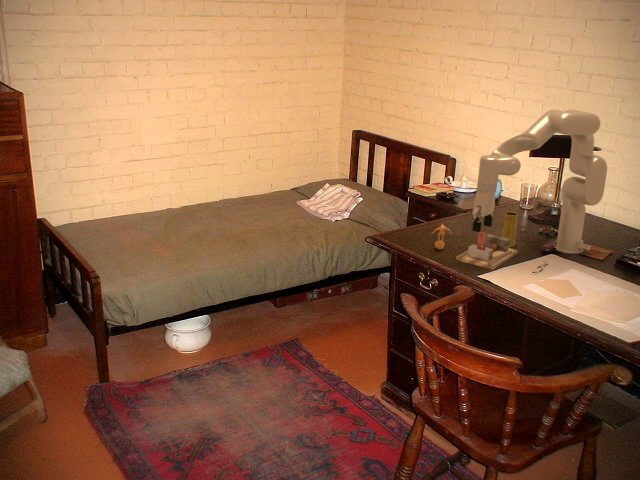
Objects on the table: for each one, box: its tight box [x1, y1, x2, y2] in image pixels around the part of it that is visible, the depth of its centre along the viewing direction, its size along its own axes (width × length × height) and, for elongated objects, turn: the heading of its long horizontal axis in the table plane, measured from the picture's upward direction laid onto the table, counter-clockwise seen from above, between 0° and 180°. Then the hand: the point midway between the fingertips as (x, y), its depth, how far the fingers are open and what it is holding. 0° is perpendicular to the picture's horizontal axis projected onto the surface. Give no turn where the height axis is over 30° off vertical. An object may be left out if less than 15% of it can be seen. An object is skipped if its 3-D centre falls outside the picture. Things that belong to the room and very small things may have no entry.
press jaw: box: [467, 231, 494, 261], centre depth 266 cm, size 9×4×10 cm, turn 50°
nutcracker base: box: [455, 233, 519, 271], centre depth 272 cm, size 16×24×6 cm, turn 141°
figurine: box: [431, 223, 452, 251], centre depth 278 cm, size 8×6×12 cm
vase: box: [501, 211, 519, 248], centre depth 285 cm, size 6×6×14 cm
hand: (481, 228), depth 263 cm, fingers open, 9 cm apart
